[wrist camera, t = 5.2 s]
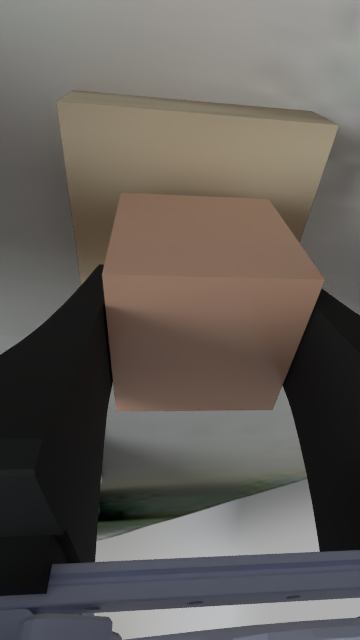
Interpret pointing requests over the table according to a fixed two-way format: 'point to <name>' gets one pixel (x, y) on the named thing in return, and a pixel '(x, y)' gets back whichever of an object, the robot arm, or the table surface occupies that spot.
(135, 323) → the terracotta cube
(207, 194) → the oak block
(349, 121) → the table surface
